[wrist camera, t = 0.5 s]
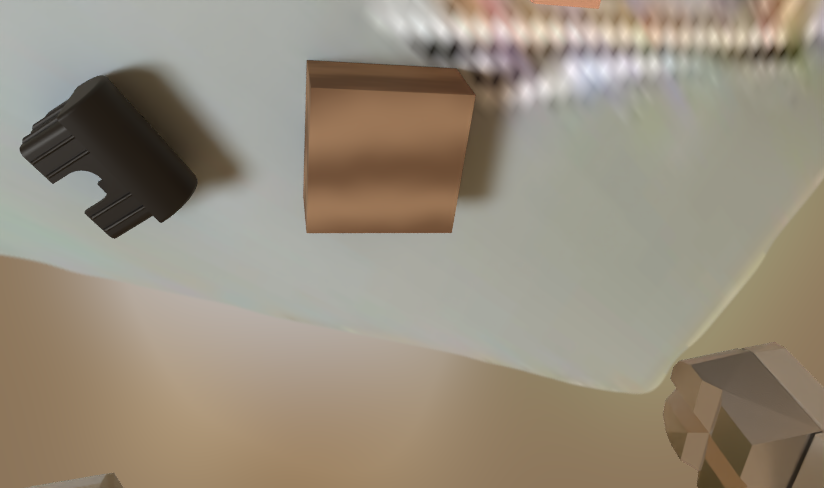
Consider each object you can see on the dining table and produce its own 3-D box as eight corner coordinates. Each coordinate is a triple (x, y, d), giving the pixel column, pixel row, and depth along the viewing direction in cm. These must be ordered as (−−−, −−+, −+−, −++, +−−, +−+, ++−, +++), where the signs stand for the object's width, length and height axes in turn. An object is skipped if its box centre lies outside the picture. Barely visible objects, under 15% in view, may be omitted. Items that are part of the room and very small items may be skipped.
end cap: (202, 162, 53) (195, 203, 47) (133, 205, 54) (118, 250, 48) (113, 60, 47) (92, 94, 41) (37, 110, 48) (8, 149, 42)
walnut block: (306, 60, 49) (311, 87, 44) (456, 68, 52) (475, 95, 47) (303, 196, 56) (306, 232, 51) (436, 197, 58) (451, 232, 54)
